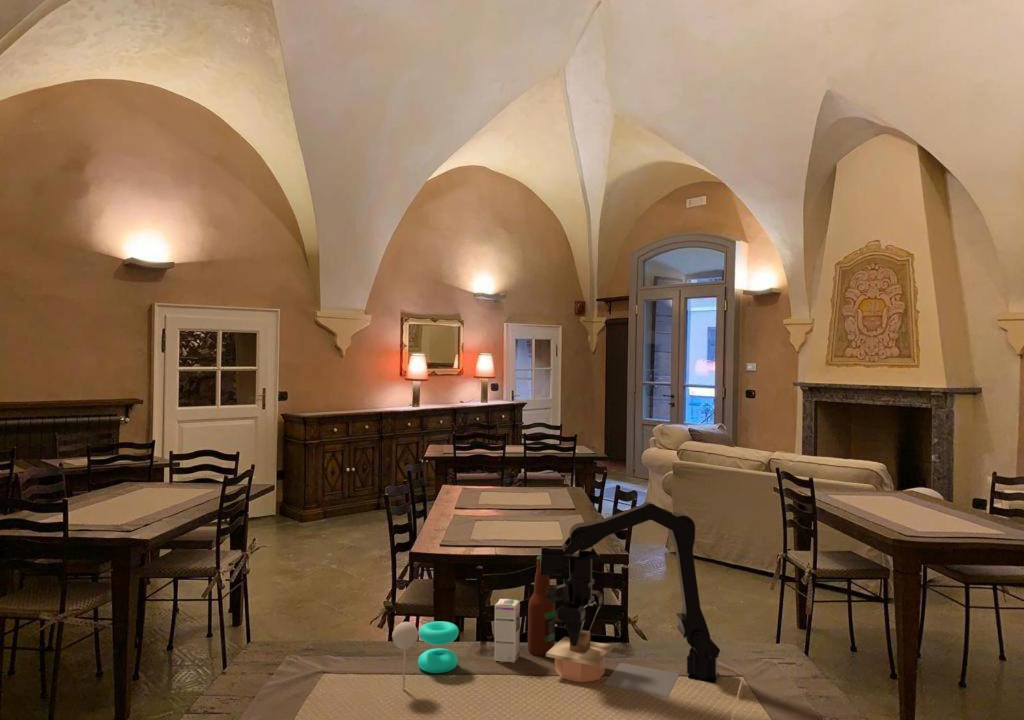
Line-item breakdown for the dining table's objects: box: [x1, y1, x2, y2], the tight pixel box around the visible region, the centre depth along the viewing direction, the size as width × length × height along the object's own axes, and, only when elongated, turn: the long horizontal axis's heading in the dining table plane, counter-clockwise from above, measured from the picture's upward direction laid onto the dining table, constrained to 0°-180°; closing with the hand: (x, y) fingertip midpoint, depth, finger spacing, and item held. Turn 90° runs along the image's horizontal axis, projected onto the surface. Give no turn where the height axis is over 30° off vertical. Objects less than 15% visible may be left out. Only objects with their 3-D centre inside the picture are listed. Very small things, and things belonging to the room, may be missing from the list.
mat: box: [603, 662, 680, 699], centre depth 153 cm, size 15×15×1 cm
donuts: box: [417, 620, 460, 674], centre depth 159 cm, size 10×10×10 cm
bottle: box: [527, 555, 556, 657], centre depth 172 cm, size 7×7×25 cm
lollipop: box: [391, 621, 420, 691], centre depth 146 cm, size 6×6×15 cm
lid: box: [545, 629, 614, 666], centre depth 157 cm, size 13×13×5 cm
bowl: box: [554, 657, 606, 683], centre depth 157 cm, size 11×11×5 cm
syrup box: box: [493, 598, 521, 662], centre depth 165 cm, size 6×6×14 cm
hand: (580, 639), depth 157 cm, fingers open, 9 cm apart
